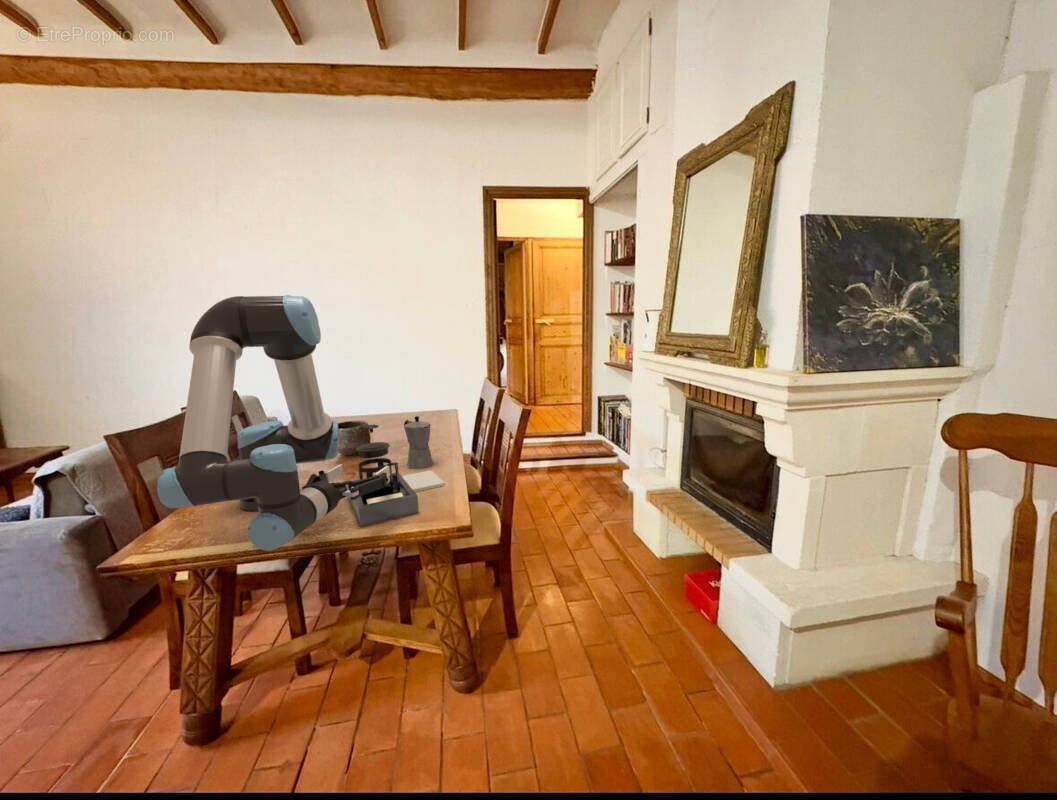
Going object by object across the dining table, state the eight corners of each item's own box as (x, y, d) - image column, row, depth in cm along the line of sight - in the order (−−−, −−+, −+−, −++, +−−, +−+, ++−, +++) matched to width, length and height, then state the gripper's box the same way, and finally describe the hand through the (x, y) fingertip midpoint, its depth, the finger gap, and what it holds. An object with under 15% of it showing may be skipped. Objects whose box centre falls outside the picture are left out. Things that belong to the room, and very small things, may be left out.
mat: (409, 493, 133) (409, 490, 133) (398, 479, 145) (398, 476, 145) (444, 485, 139) (444, 482, 139) (431, 472, 151) (431, 470, 151)
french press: (353, 509, 123) (344, 430, 119) (366, 496, 132) (358, 421, 128) (395, 509, 123) (387, 429, 118) (405, 495, 132) (398, 420, 128)
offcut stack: (368, 522, 115) (366, 505, 114) (365, 516, 119) (363, 499, 118) (410, 512, 120) (408, 496, 119) (406, 506, 124) (404, 490, 123)
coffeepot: (441, 465, 158) (438, 416, 155) (418, 472, 152) (414, 421, 149) (418, 456, 169) (415, 411, 166) (396, 462, 163) (392, 415, 159)
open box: (360, 526, 113) (358, 508, 112) (348, 497, 132) (347, 481, 131) (418, 512, 120) (417, 495, 119) (399, 487, 139) (398, 472, 138)
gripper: (266, 515, 101) (324, 481, 121) (367, 521, 96) (409, 484, 117) (262, 484, 99) (321, 455, 120) (364, 488, 95) (407, 457, 115)
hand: (364, 469), depth 118 cm, fingers open, 13 cm apart
